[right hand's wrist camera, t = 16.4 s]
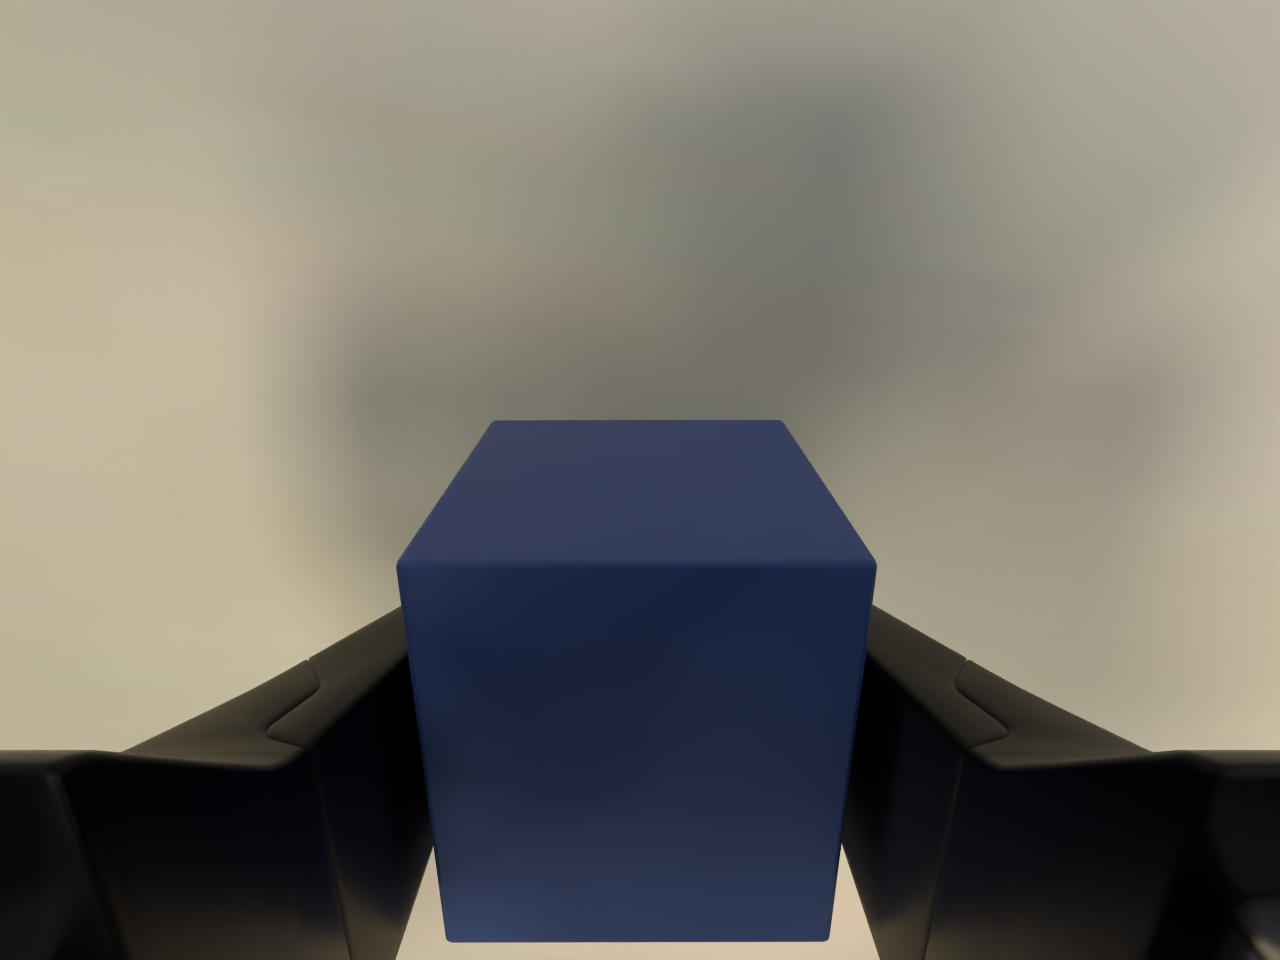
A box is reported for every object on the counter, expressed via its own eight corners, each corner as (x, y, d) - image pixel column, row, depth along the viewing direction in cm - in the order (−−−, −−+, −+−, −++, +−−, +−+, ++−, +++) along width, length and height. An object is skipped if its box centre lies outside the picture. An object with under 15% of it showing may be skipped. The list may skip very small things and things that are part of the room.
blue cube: (783, 418, 12) (881, 562, 7) (763, 688, 13) (830, 945, 9) (491, 418, 12) (392, 562, 7) (512, 688, 13) (445, 945, 9)
